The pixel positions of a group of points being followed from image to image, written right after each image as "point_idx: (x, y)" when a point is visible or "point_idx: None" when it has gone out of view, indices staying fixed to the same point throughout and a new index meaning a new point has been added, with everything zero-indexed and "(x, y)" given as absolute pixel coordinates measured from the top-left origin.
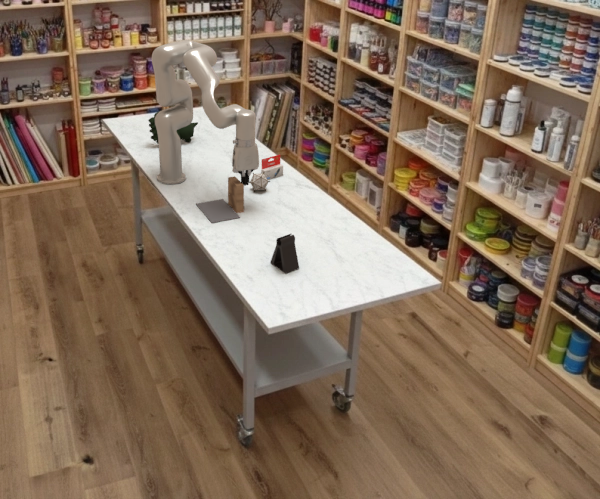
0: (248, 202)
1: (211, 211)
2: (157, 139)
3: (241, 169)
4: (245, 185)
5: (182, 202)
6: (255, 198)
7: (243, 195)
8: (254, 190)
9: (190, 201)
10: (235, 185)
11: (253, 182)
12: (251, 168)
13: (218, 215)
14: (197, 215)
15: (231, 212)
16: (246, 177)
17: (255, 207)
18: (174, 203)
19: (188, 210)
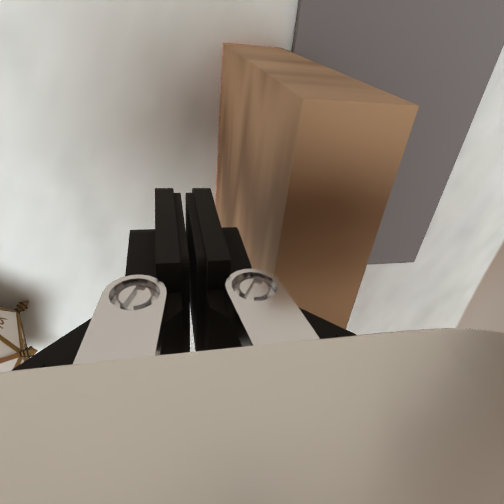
0: (120, 181)
1: (416, 144)
2: None
3: (462, 359)
4: (198, 189)
5: (440, 293)
6: (44, 220)
7: (260, 67)
8: (21, 311)
9: (407, 293)
10: (394, 157)
11: (14, 354)
12: (82, 386)
13: (423, 63)
14: (495, 138)
15: (322, 64)
16: (188, 262)
17: (92, 75)
18: (470, 294)
19: (481, 213)
